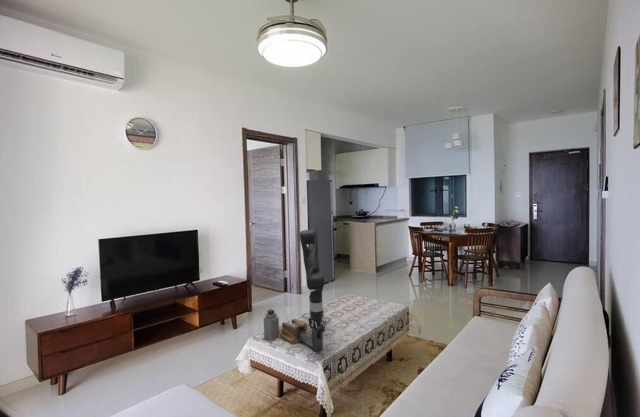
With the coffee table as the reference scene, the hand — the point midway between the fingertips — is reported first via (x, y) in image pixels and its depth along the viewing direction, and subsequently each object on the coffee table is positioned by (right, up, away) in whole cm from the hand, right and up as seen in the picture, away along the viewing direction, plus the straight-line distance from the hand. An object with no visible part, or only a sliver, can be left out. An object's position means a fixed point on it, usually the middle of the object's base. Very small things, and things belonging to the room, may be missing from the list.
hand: (317, 337), depth 208 cm
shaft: (-7, -7, +10) cm, 14 cm away
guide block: (-15, -7, +19) cm, 25 cm away
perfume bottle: (-29, -8, +19) cm, 36 cm away
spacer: (-21, -5, +26) cm, 33 cm away
